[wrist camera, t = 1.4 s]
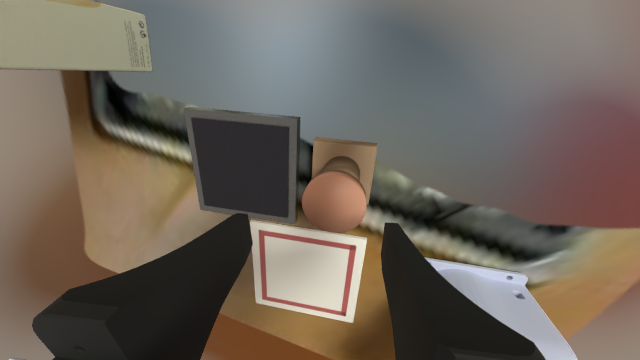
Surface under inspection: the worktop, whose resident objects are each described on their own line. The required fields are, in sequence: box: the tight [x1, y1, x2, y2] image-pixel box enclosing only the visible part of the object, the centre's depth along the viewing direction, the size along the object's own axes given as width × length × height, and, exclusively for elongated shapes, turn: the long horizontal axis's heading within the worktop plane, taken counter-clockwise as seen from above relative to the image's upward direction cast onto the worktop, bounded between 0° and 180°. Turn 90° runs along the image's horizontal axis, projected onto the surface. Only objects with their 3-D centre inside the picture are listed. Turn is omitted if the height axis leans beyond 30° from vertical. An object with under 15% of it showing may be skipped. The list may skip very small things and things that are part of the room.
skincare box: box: [0, 0, 153, 72], centre depth 15 cm, size 6×4×12 cm
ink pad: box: [184, 107, 300, 224], centre depth 22 cm, size 10×10×1 cm
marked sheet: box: [250, 220, 367, 323], centre depth 27 cm, size 12×12×1 cm
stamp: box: [302, 137, 377, 233], centre depth 18 cm, size 5×5×7 cm
